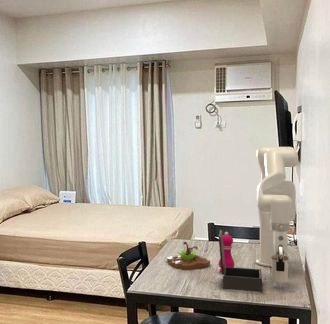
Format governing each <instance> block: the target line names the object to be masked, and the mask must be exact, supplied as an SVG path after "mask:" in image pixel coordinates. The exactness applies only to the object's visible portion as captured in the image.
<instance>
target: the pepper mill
mask: <svg viewBox="0 0 330 324" xmlns="http://www.w3.org/2000/svg"><path fill="white" fill-rule="evenodd" d="M233 243H234V239H233V237H232V236H231V235H230V234H229V232H228V231H225V232H224V234H223V245H224V256H225V267H235V261H234V258H233V256H232V249H233ZM218 267H219V273H221V274H222V270H221V259H220V258H219V260H218Z"/></svg>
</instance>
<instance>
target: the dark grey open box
mask: <svg viewBox="0 0 330 324" xmlns="http://www.w3.org/2000/svg"><path fill="white" fill-rule="evenodd" d="M222 289H224V290H231V291H233V290H234V291H243V292H244V291H246V292H257V293H262V292H263V274H262V269H261V268H248V267H235V266H234V267H225V271H224V275H222Z"/></svg>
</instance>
